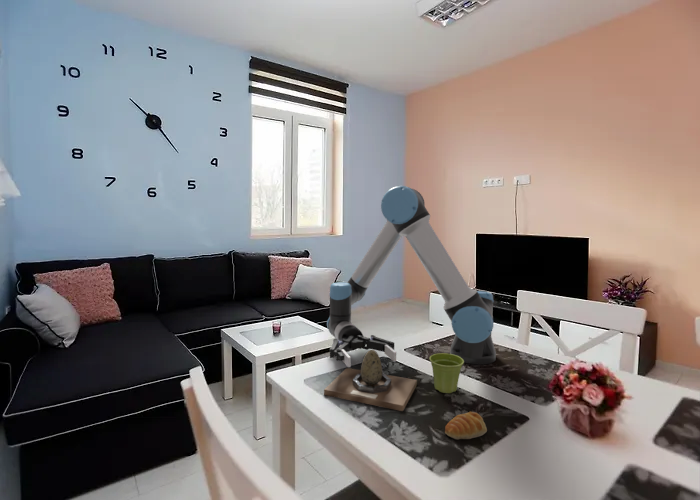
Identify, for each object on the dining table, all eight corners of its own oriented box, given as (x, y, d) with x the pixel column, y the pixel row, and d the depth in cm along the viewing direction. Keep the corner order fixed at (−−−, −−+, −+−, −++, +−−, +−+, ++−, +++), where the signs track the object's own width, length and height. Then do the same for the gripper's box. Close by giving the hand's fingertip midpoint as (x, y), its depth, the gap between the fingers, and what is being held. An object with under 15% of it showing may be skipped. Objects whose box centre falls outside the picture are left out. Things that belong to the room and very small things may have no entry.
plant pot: (464, 398, 104) (465, 367, 103) (428, 394, 106) (429, 364, 105) (461, 383, 113) (462, 354, 112) (428, 380, 115) (429, 352, 114)
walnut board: (416, 385, 112) (416, 379, 112) (402, 411, 97) (403, 404, 97) (346, 372, 120) (346, 367, 120) (324, 394, 105) (324, 388, 105)
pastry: (458, 446, 83) (459, 429, 83) (437, 431, 89) (437, 415, 89) (489, 434, 88) (489, 418, 87) (467, 420, 93) (467, 405, 93)
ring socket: (394, 380, 111) (394, 375, 111) (383, 395, 102) (383, 390, 102) (361, 374, 115) (361, 369, 115) (348, 388, 106) (348, 383, 105)
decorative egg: (356, 385, 108) (357, 350, 107) (367, 378, 113) (368, 344, 112) (375, 391, 104) (375, 355, 103) (385, 383, 109) (386, 349, 108)
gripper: (383, 343, 131) (412, 367, 111) (311, 350, 123) (329, 378, 103) (384, 321, 131) (413, 342, 110) (311, 328, 123) (329, 351, 103)
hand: (372, 359), depth 107 cm, fingers open, 13 cm apart
